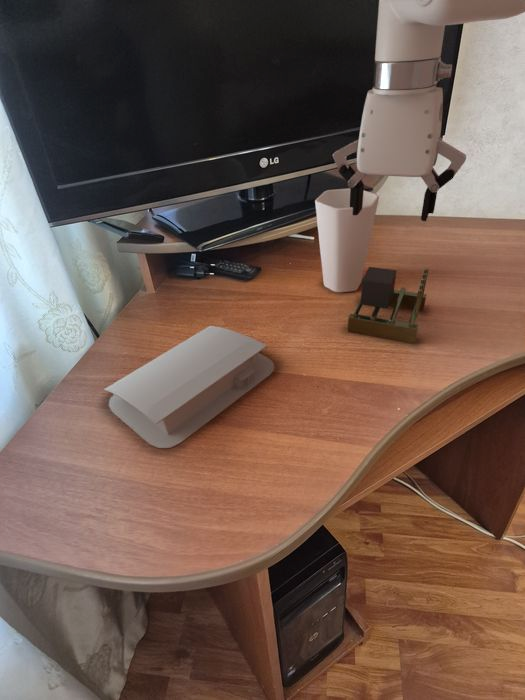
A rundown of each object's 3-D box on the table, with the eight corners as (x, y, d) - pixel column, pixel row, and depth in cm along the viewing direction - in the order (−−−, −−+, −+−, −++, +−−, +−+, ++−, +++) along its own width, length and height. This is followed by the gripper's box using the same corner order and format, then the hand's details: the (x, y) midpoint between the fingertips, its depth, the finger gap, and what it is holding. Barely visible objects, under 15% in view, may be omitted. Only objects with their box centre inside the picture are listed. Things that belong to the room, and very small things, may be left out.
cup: (381, 286, 86) (391, 198, 75) (342, 303, 81) (347, 213, 71) (342, 266, 93) (346, 184, 83) (304, 281, 89) (304, 197, 79)
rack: (423, 308, 78) (432, 264, 73) (414, 344, 71) (423, 297, 65) (362, 298, 82) (366, 255, 77) (347, 331, 74) (350, 286, 69)
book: (282, 365, 68) (281, 345, 66) (163, 456, 56) (156, 435, 53) (216, 330, 77) (213, 311, 75) (100, 401, 64) (92, 382, 62)
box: (393, 294, 76) (396, 270, 73) (387, 308, 72) (390, 284, 69) (367, 290, 77) (369, 266, 75) (360, 304, 74) (362, 280, 71)
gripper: (483, 71, 53) (456, 210, 63) (344, 75, 59) (339, 202, 70) (480, 79, 48) (451, 230, 58) (327, 83, 54) (325, 219, 64)
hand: (390, 214), depth 64 cm, fingers open, 9 cm apart
